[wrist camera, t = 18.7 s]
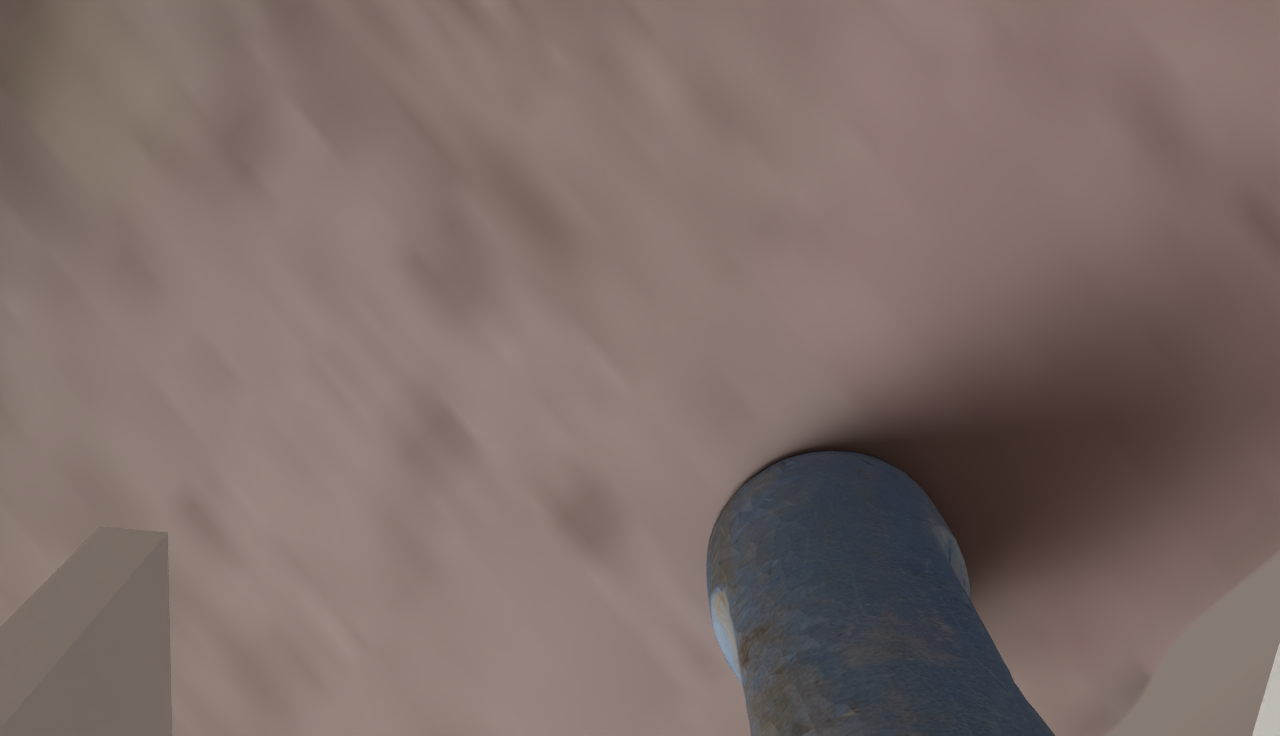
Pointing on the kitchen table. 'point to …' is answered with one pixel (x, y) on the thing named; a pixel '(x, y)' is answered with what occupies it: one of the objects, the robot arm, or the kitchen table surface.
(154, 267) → the kitchen table surface
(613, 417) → the kitchen table surface
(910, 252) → the kitchen table surface
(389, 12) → the kitchen table surface
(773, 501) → the bottle
